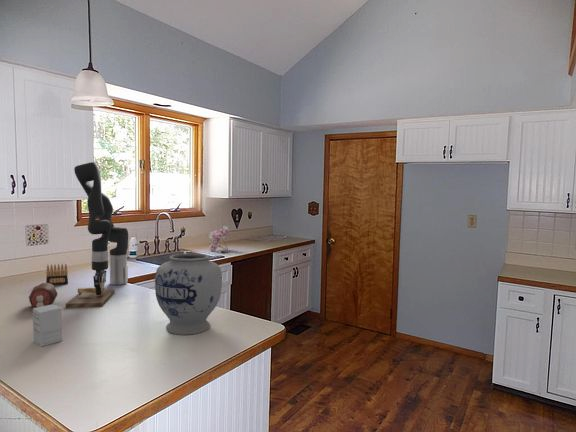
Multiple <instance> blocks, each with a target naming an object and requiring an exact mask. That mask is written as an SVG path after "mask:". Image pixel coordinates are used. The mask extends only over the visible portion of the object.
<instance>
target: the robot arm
mask: <svg viewBox="0 0 576 432" xmlns="http://www.w3.org/2000/svg"><path fill="white" fill-rule="evenodd" d="M73 170H74V174H75V176H76V179H77V181H78V182H79V184H80V186H81V188H83V190H84V192H85V193H86V195H87V203H86V204H87V209H88V224H87V230H88V231H87V232H88V233H89V234H91V235H101V236H100V237H98V238H95V239H93V240H92V241H91V270H93V271H95V273H94V275H93V288H95V287H96V295H101V283H102V282H104V285H105V284H106V282H107V270H108V269H109V285H112V286H119V285H121V286H122V285H127V283H128V282H129V281H128V279H129V275H128V274H129V271H128V270H129V266H128V263H127V262H128V257H127V256H128V248H129V231H128V229H127V227H123V226H115V224H113V220H112V216H113V212H114V211H113V210H114V209H113V208H114V207H113V205H112V203H111V201H110V198H109V196H108V195H106V194H105V193H103V191H102V180H101V179H102V176H101V170H100V167H99V166H98V164H97V163H96V162H94V161H93V162H91V161H90V162H87V163H83V164H79V165H75V167H74V168H73ZM92 181H93V183H92V184H91V183H90V182H92ZM108 242H109V243H116V246H115V247H114V248H111V249H110V250H108V249H109V248H108V246H109V244H108ZM97 283H98V285H97Z"/></svg>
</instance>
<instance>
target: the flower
mask: <svg viewBox="0 0 576 432" xmlns="http://www.w3.org/2000/svg"><path fill="white" fill-rule="evenodd" d="M229 230H230V228H229V226H228V225H227V226H225V225H223V227H222V229H221V228H220V229H219V231H218V230H213V231H210V232H209V233H208V237H209V239H211V244H210V246H208V251H210V252H213V251H215V252H216V251H217V250H218V248H221V250H220V251H219V253H221V252H222V253H225V252H229V253H231V251H230V250H229V248H228V246H227V244H226V242H225V240H227V238H230V239H231V236H229V232H228V231H229ZM220 240H221V241H222V242H219V241H220ZM222 243H223V244H224V246H225V247H223V246H222Z"/></svg>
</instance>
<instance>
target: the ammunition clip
mask: <svg viewBox="0 0 576 432" xmlns="http://www.w3.org/2000/svg"><path fill="white" fill-rule="evenodd" d="M45 273H46V276H45V277H46V282H45V283H50V284H52V285H54V286H60V285H61V286H63V285H68V284H69V277H68V275H69V274H68V264H67V263H65V264H63V263H61V266H60V263H58V264H57V265H56V263H54V265H53V264H52V263H51V264H50V266H49V264H47V265H46V272H45Z"/></svg>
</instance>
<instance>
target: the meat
mask: <svg viewBox="0 0 576 432" xmlns="http://www.w3.org/2000/svg"><path fill="white" fill-rule="evenodd" d="M57 296H58V292H57V289H56V286H55V285H52V284H50V283H46V282H42V283H39V284H38V285H36V286H34V287H32V290H31V292H30V294H29V296H28V299H29V303H30V305H31V308H32V309H33V308H37V307H42V306H47V305H52V304H54V302H55V300H56V299H57Z"/></svg>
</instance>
